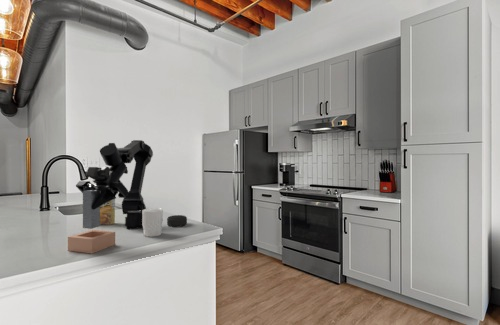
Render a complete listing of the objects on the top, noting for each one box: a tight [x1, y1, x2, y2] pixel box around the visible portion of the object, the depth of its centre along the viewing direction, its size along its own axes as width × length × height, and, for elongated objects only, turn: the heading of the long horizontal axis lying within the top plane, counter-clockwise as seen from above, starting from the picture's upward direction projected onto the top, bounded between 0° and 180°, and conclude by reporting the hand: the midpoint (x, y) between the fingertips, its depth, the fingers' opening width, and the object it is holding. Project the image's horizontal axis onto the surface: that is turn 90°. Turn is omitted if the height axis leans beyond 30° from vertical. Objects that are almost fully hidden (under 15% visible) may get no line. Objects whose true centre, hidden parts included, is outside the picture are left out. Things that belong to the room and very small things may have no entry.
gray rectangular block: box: [82, 190, 101, 230], centre depth 96 cm, size 4×4×12 cm
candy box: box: [100, 199, 116, 226], centre depth 132 cm, size 9×4×15 cm, turn 93°
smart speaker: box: [166, 214, 188, 228], centre depth 131 cm, size 9×9×4 cm
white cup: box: [142, 207, 164, 238], centre depth 113 cm, size 8×8×10 cm
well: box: [67, 229, 116, 254], centre depth 96 cm, size 10×10×4 cm
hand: (88, 208), depth 95 cm, fingers closed on gray rectangular block, 4 cm apart
